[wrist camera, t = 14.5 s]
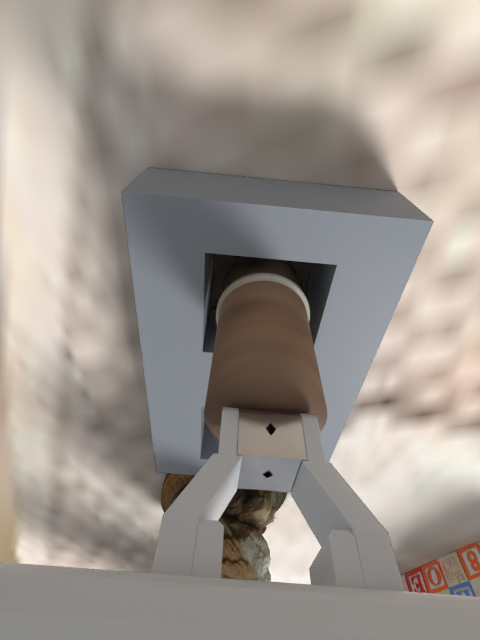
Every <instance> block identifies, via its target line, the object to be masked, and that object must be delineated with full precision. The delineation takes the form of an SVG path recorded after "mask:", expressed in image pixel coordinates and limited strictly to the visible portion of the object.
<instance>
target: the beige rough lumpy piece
mask: <svg viewBox="0 0 480 640" xmlns="http://www.w3.org/2000/svg"><path fill="white" fill-rule="evenodd" d="M194 477H195V475H186V474H173V473H168V474H167V476H166V478H165V481H164V484H163V488H162V493H161V505H162V508H163V511H164V513H165V512H166V511H167V509H168V508H169V507H170V506H171V505H172V503H173V502H174V501H175V500H176V499H177V497H178V496H179V495H180V494H181V492H182V491H183V490H184V489H185V488H186V486H187V485H188V484H189V483H190V481H191V480H192V479H193V478H194ZM286 496H287V492H279V491H269V490H256V489H237V491H236V493H235V494H234V496H233V498H232V499H231V501H230V502H229V504H228V506H227V507H226V509H225V510H224V512H223V514H222V515H221V517H220V518H219V520H218V521H220V523H221V524H222V525H223V526H224V535H223V552H222V569H221V578H226V579H239V580H253V581H267V582H271V575H270V573H269V570H268V566H269V564H270V551H269V548H268V545H267V541H266V540H265V539H264V537H263V536H262V534H263V533H264V532H265V530H266V526H267V525H268V524H270V523H271V522H273V519H274V514H275V512H276V511H277V510H278V509H279V508H280V507H281V505H282V504H283V502H284V500H285V499H286Z"/></svg>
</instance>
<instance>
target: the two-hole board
mask: <svg viewBox="0 0 480 640" xmlns="http://www.w3.org/2000/svg"><path fill="white" fill-rule="evenodd" d="M122 200H123V208H124V216H125V224H126V232H127V240H128V248H129V256H130V264H131V273H132V281H133V289H134V297H135V305H136V313H137V321H138V329H139V337H140V345H141V353H142V361H143V369H144V377H145V385H146V393H147V401H148V410H149V418H150V426H151V434H152V442H153V450H154V458H155V466H156V472H160V473H173V474H186V475H196V474H197V473H198V472H199V470H200V469H201V468H202V467H203V466H204V464H205V463H206V462H207V461H208V459H209V458H210V457H211V456H212V455H213V453H215V454H218V450H219V439H218V438H217V437H216V436H215V435H214V434H213V433H212V432H211V431H210V430H209V428H208V426H207V424H206V422H205V418H204V409H205V402H206V395H207V389H208V383H209V376H210V370H211V363H212V357H213V350H214V344H215V337H216V331H217V322H216V309H211V290H212V263H213V254H223V255H234V256H245V257H256V258H267V259H278V260H288V261H299V262H310V263H314V265H313V269H312V273H311V278H310V282H309V286H308V290H307V295H306V298H307V301H308V304H309V309H310V321H309V326H310V330H311V335H312V340H313V345H314V349H315V354H316V359H317V364H318V368H319V373H320V378H321V383H322V387H323V392H324V397H325V402H326V407H327V421H326V424H325V426H324V428H323V429H322V431H321V432H320V434H321V439H322V445H323V450H324V456H325V461H326V462H328V463H329V460H330V458H331V456H332V453H333V451H334V449H335V447H336V444H337V442H338V440H339V437H340V435H341V433H342V431H343V428H344V426H345V424H346V421H347V419H348V417H349V414H350V412H351V410H352V408H353V405H354V403H355V401H356V398H357V396H358V394H359V392H360V389H361V387H362V385H363V382H364V380H365V378H366V375H367V373H368V371H369V369H370V366H371V364H372V362H373V359H374V357H375V355H376V353H377V350H378V348H379V346H380V343H381V341H382V339H383V337H384V334H385V332H386V330H387V327H388V325H389V323H390V320H391V318H392V316H393V314H394V311H395V309H396V307H397V304H398V302H399V300H400V298H401V295H402V293H403V291H404V288H405V286H406V284H407V281H408V279H409V277H410V275H411V272H412V270H413V268H414V265H415V263H416V261H417V259H418V256H419V254H420V252H421V249H422V247H423V245H424V243H425V240H426V238H427V236H428V233H429V231H430V229H431V226H432V224H433V222H434V221H433V220H432V219H430V218H429V217H428V216H427V215H426V214H424V213H423V212H422V211H421V210H420V209H418V208H417V207H416V206H415V205H414V204H412V203H411V202H410V201H409V200H408V199H406V198H405V197H404V196H403V195H402V194H400V193H399V192H397V191H386V190H376V189H366V188H355V187H345V186H335V185H324V184H314V183H304V182H293V181H283V180H273V179H262V178H252V177H242V176H231V175H221V174H211V173H200V172H190V171H180V170H169V169H159V168H149V167H148V168H147V169H146V170H145V171H144V172H143V173H142V174H141V175H140V176H138V177H137V178H136V179H135V180H134V181H133V182H132V183H131V184H129V185H128V186H127V187H126V188H125V189H124V190H123V191H122Z"/></svg>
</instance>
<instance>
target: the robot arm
mask: <svg viewBox="0 0 480 640" xmlns="http://www.w3.org/2000/svg"><path fill="white" fill-rule="evenodd" d="M237 489H256V490H269V491H279V492H288V493H291V495H292V497H293V499H294V501H295V502H296V504H297V506H298V507H299V509H300V511H301V513H302V514H303V516H304V518H305V519H306V521H307V523H308V525H309V526H310V528H311V530H312V531H313V533H314V535H315V537H316V538H317V540H318V542H319V543H320V545H321V547H322V548H321V549H320V551H319V553H318V555H317V556H316V558H315V560H314V561H313V563H312V565H311V567H310V568H309V569H310V579H311V585H308V584H295V583H281V582H267V581H253V580H239V579H226V578H221V569H222V552H223V535H224V526H223V525H222V524H221V523H220V521H218V520H219V518H220V517H221V515H222V514H223V512H224V510H225V509H226V507H227V506H228V504H229V502H230V501H231V499H232V498H233V496H234V494H235V493H236V491H237ZM0 640H480V597H473V596H460V595H446V594H432V593H418V592H405V589H404V585H403V582H402V579H401V575H400V572H399V568H398V565H397V561H396V558H395V554H394V551H393V547H392V544H391V541H390V537H389V534H388V532H387V531H386V529H385V528H384V527H383V526H382V525H381V523H380V522H379V521H378V520H377V519H376V517H375V516H374V515H373V514H372V512H371V511H370V510H369V509H368V508H367V506H366V505H365V504H364V503H363V502H362V500H361V499H360V498H359V497H358V495H357V494H356V493H355V492H354V491H353V489H352V488H351V487H350V486H349V485H348V483H347V482H346V481H345V480H344V479H343V477H342V476H341V475H340V474H339V472H338V471H337V470H336V469H335V468H334V466H333V465H332V464H331V463H328V462H326V461H325V456H324V450H323V445H322V439H321V434H320V429H319V423H318V418H317V416H316V415H313V414H299V413H292V412H277V411H269V412H268V411H259V410H250V409H241V408H230V407H223V410H222V419H221V430H220V440H219V450H218V454H215V453H213V455H212V456H211V457H210V458H209V459H208V461H207V462H206V463H205V464H204V466H203V467H202V468H201V469H200V470H199V472H198V473H197V474H196V475H195V477H194V478H193V479H192V480H191V481H190V483H189V484H188V485H187V486H186V488H185V489H184V490H183V491H182V492H181V494H180V495H179V496H178V497H177V499H176V500H175V501H174V502H173V503H172V505H171V506H170V507H169V508H168V509H167V511H166V512H165V513H164V514H163V518H162V522H161V527H160V532H159V536H158V541H157V546H156V550H155V555H154V560H153V564H152V569H151V573H143V572H129V571H115V570H102V569H88V568H74V567H60V566H46V565H33V564H19V563H4V562H0Z"/></svg>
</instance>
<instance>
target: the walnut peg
mask: <svg viewBox="0 0 480 640" xmlns="http://www.w3.org/2000/svg"><path fill="white" fill-rule="evenodd" d="M309 321H310V309H309V304H308V301H307V298H306V296H305V294H304V292H303V291H302V288H301V283H300V279H299V276H298V274H297V272H296V271H295V269H294V268H293V267H292V266H291V265H290V264H289V263H287V262H286V260H278V259H267V258H256V257H245V256H241V257H240V258H239V260H238V261H237V263H236V264H235V265H234V266H233V267H232V268H231V269H230V271H229V272H228V274H227V276H226V278H225V281H224V286H223V292H222V294H221V296H220V298H219V301H218V304H217V309H216V322H217V331H216V337H215V344H214V350H213V357H212V363H211V370H210V376H209V383H208V389H207V395H206V402H205V409H204V418H205V422H206V424H207V426H208V428H209V430H210V431H211V432H212V433H213V434H214V435H215V436H216V437H217V438H218V439H219V440H220V430H221V419H222V410H223V407H230V408H241V409H250V410H259V411H268V412H269V411H277V412H292V413H299V414H313V415H316V416H317V418H318V423H319V429H320V432H321V431H322V429H323V428H324V426H325V424H326V421H327V407H326V402H325V397H324V392H323V387H322V383H321V378H320V373H319V368H318V364H317V359H316V354H315V349H314V345H313V340H312V335H311V330H310V326H309Z"/></svg>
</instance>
